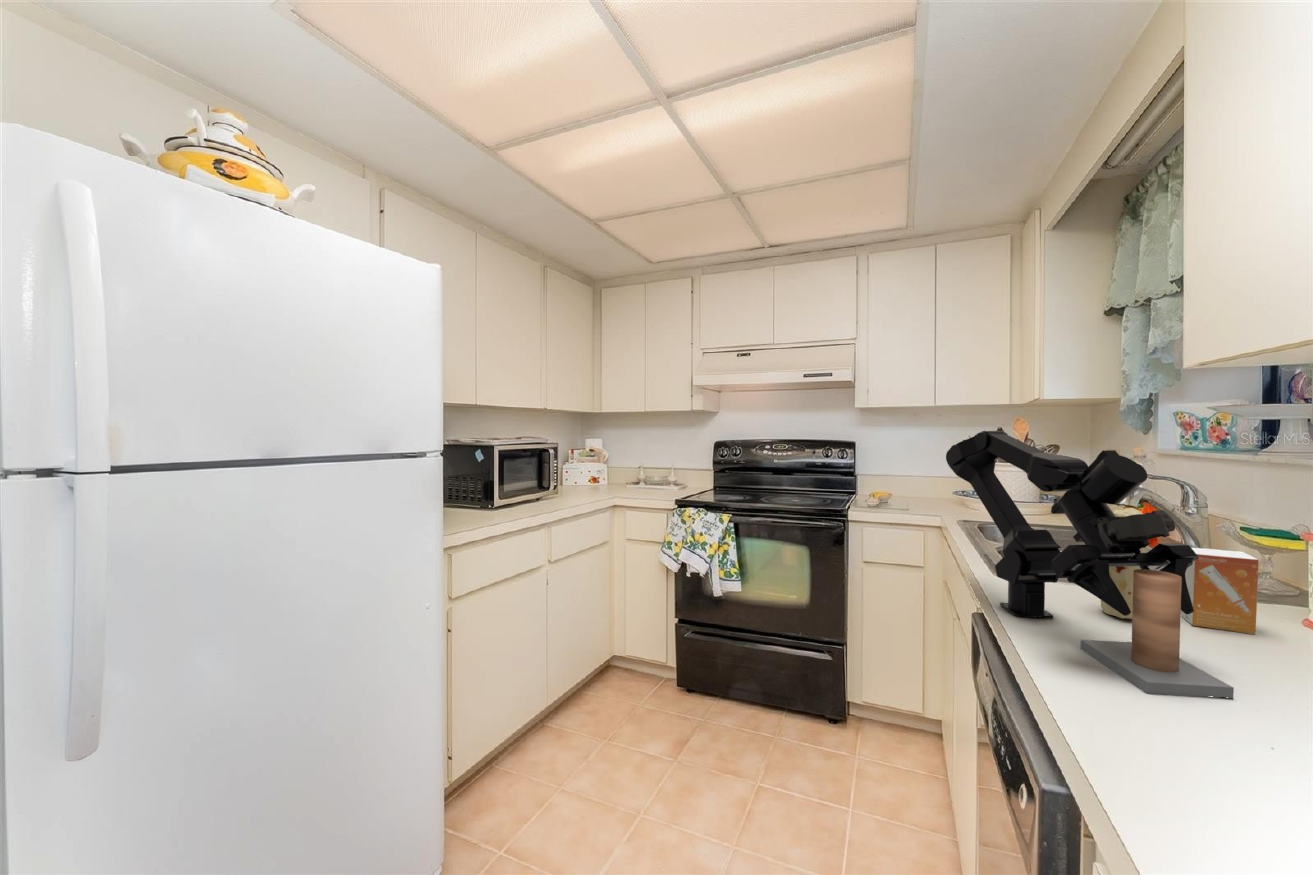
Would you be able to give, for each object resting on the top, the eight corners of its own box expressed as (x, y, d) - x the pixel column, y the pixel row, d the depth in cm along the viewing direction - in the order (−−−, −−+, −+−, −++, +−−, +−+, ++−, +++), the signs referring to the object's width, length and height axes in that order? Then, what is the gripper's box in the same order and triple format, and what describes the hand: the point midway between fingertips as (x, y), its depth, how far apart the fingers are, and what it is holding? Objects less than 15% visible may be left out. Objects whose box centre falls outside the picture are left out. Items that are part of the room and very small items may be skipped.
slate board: (1080, 648, 85) (1080, 639, 85) (1151, 652, 83) (1151, 643, 83) (1146, 693, 71) (1147, 682, 71) (1233, 698, 70) (1233, 687, 70)
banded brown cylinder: (1129, 653, 80) (1131, 567, 80) (1175, 662, 77) (1178, 573, 76) (1132, 665, 76) (1135, 575, 76) (1181, 675, 73) (1184, 581, 72)
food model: (1149, 627, 94) (1151, 514, 93) (1099, 618, 98) (1102, 510, 97) (1144, 611, 101) (1146, 506, 101) (1098, 604, 106) (1100, 503, 105)
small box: (1192, 626, 94) (1194, 553, 94) (1179, 615, 100) (1180, 545, 99) (1257, 635, 90) (1259, 559, 90) (1240, 623, 96) (1242, 550, 95)
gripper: (1067, 492, 80) (1134, 588, 69) (1187, 490, 81) (1271, 585, 70) (1028, 532, 88) (1082, 624, 78) (1136, 531, 89) (1205, 621, 78)
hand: (1159, 613), depth 76 cm, fingers open, 9 cm apart
